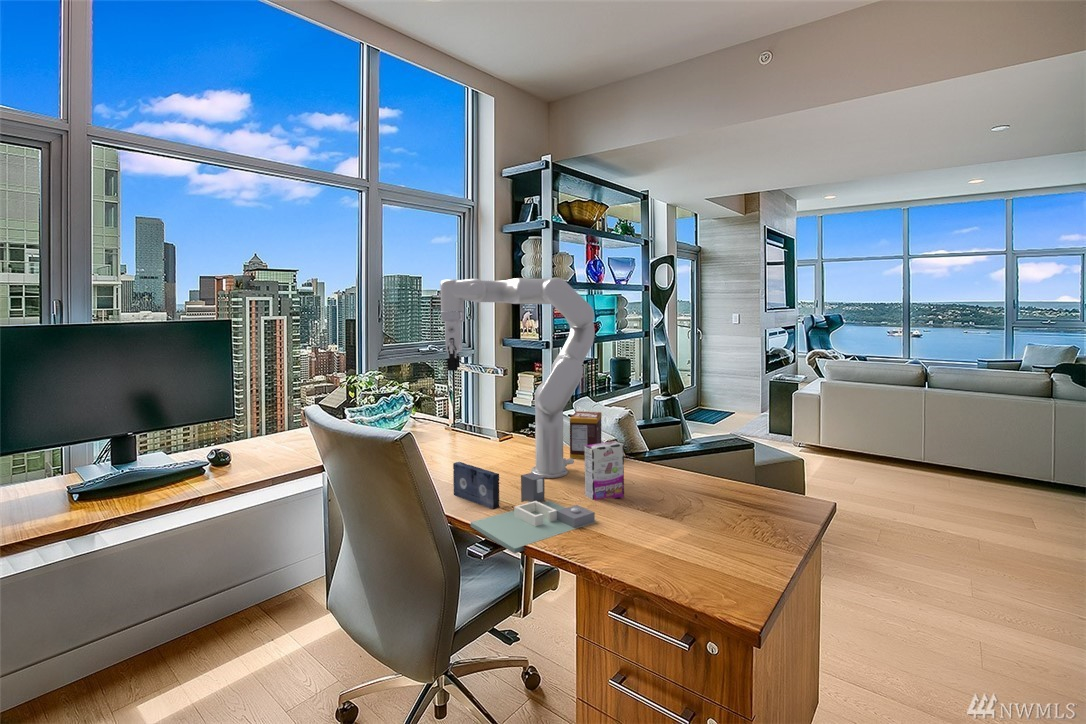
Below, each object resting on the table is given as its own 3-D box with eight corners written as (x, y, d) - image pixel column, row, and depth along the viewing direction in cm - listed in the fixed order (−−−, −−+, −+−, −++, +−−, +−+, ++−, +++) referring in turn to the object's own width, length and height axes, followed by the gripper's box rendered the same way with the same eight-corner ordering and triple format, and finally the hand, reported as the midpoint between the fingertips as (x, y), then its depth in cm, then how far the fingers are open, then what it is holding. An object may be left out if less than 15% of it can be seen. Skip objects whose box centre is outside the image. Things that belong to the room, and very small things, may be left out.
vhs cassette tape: (500, 507, 154) (499, 473, 153) (492, 510, 151) (491, 475, 151) (461, 492, 166) (460, 461, 166) (453, 495, 164) (452, 463, 163)
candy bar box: (614, 492, 165) (615, 440, 164) (624, 497, 161) (625, 443, 159) (583, 498, 160) (583, 444, 159) (592, 504, 156) (593, 448, 154)
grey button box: (576, 513, 145) (576, 502, 145) (594, 521, 140) (594, 510, 139) (556, 519, 141) (556, 508, 141) (574, 528, 135) (574, 516, 135)
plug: (532, 498, 160) (532, 472, 160) (546, 505, 155) (545, 478, 154) (521, 501, 158) (520, 475, 157) (534, 508, 153) (534, 480, 152)
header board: (549, 504, 155) (549, 492, 155) (597, 525, 140) (597, 512, 139) (470, 526, 140) (470, 512, 139) (514, 553, 124) (514, 538, 124)
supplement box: (601, 449, 217) (601, 411, 216) (596, 460, 202) (596, 418, 201) (576, 448, 220) (576, 410, 218) (569, 458, 205) (569, 417, 203)
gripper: (462, 317, 170) (463, 371, 172) (465, 317, 187) (466, 366, 189) (438, 317, 169) (439, 371, 171) (443, 317, 187) (444, 366, 188)
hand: (453, 368), depth 180 cm, fingers open, 9 cm apart
